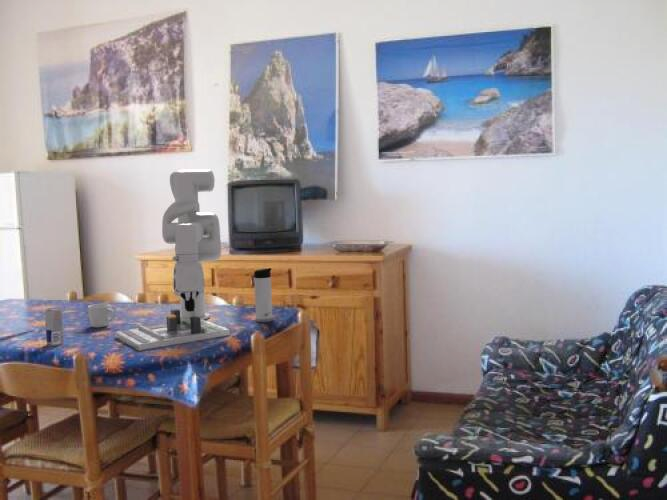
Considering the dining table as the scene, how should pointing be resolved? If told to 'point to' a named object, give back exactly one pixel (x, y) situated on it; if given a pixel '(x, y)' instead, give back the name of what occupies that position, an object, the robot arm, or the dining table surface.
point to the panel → (171, 333)
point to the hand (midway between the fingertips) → (190, 310)
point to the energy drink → (54, 326)
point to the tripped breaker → (171, 322)
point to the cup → (100, 315)
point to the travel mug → (263, 295)
